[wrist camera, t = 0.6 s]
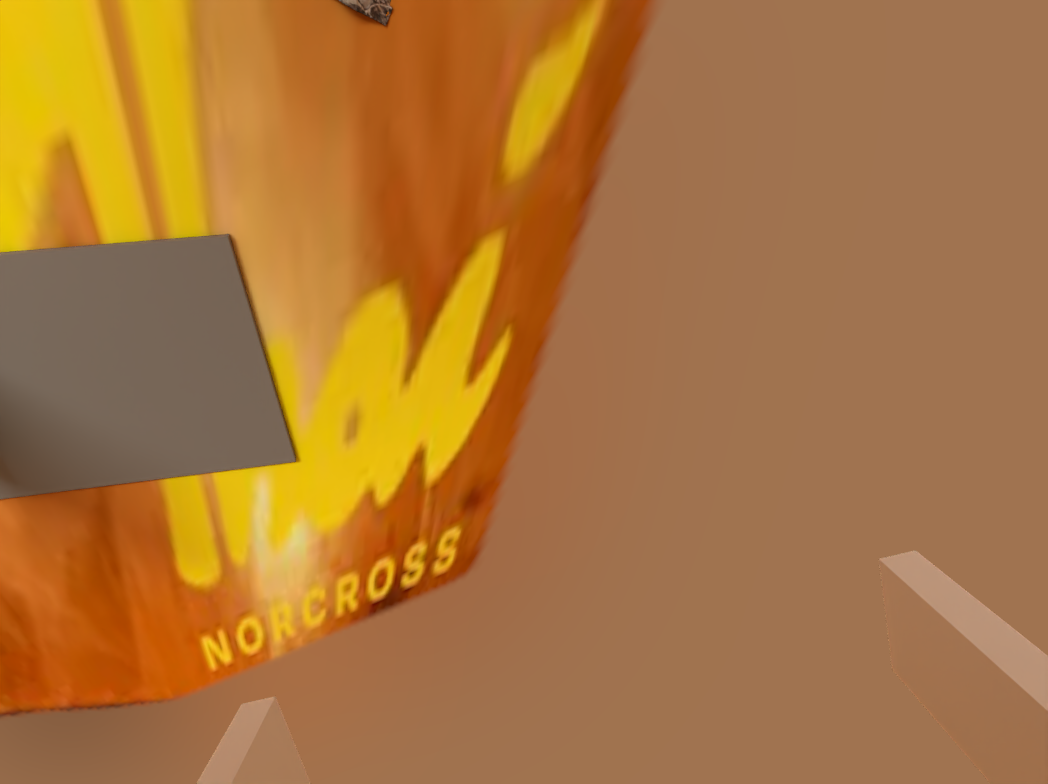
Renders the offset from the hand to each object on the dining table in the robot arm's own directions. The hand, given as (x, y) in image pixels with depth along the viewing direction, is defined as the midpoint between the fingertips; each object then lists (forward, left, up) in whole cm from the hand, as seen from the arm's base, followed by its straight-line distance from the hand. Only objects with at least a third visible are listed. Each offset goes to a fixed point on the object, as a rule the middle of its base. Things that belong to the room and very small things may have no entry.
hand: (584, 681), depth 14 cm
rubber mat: (-11, -26, -32) cm, 43 cm away
